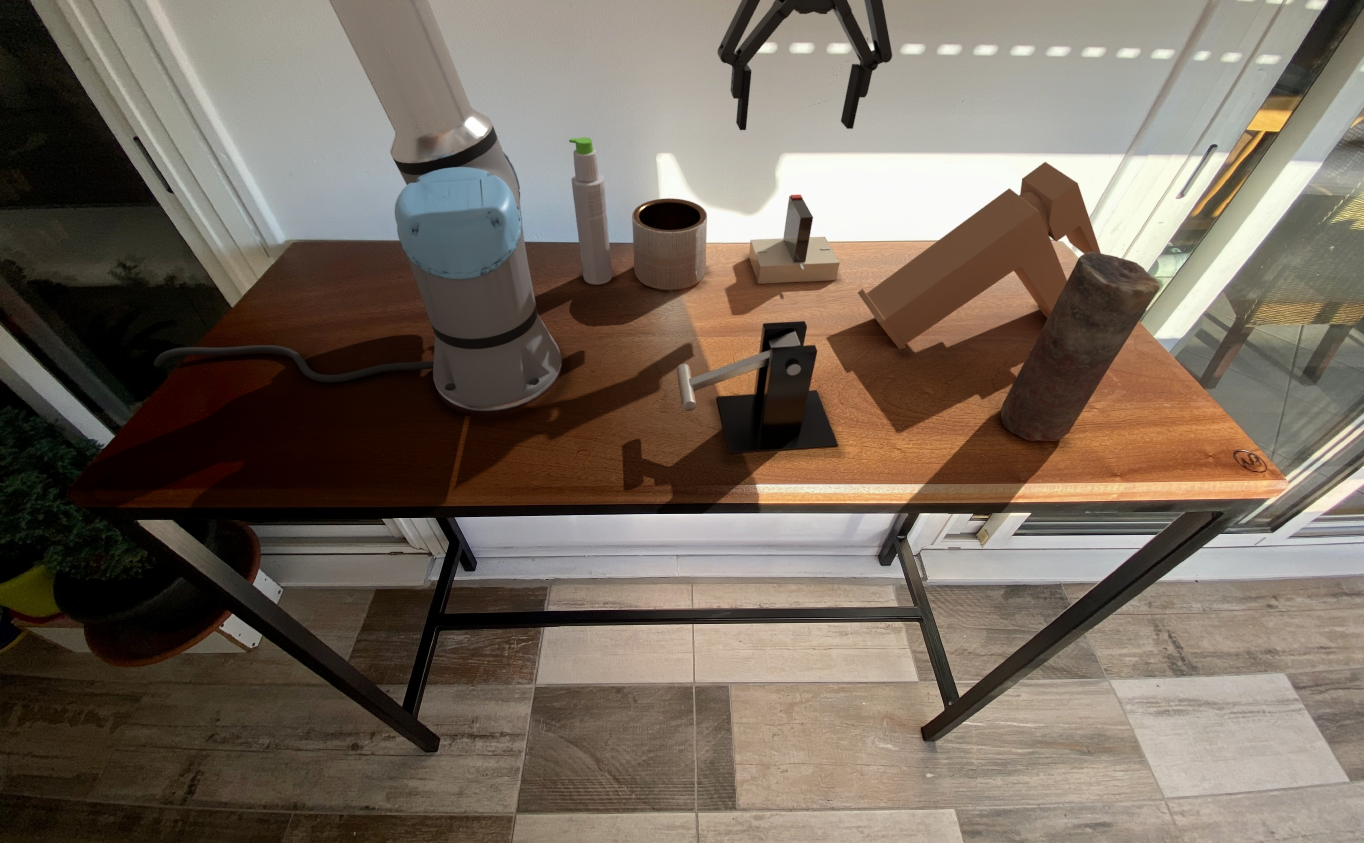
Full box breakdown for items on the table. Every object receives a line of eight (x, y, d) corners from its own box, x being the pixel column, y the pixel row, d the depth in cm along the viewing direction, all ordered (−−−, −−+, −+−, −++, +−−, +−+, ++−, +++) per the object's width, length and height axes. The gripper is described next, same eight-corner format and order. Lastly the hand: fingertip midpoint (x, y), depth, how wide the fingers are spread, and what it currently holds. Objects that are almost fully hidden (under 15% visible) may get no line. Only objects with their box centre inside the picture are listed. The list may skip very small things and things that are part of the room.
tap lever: (686, 416, 61) (678, 401, 60) (681, 378, 65) (673, 363, 64) (810, 373, 59) (805, 356, 57) (795, 337, 63) (790, 320, 61)
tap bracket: (728, 460, 64) (737, 369, 55) (716, 403, 71) (722, 313, 62) (836, 452, 65) (862, 361, 56) (815, 397, 72) (835, 307, 63)
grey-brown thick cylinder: (1002, 392, 73) (1081, 241, 59) (1068, 412, 70) (1166, 259, 56) (993, 432, 68) (1077, 278, 54) (1064, 454, 65) (1171, 299, 51)
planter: (717, 266, 93) (720, 207, 86) (685, 300, 86) (686, 239, 79) (656, 249, 97) (655, 191, 90) (621, 281, 90) (616, 221, 83)
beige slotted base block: (760, 289, 88) (762, 270, 86) (746, 251, 96) (748, 233, 94) (838, 285, 89) (843, 267, 87) (819, 248, 97) (822, 230, 95)
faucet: (947, 410, 88) (1120, 303, 78) (879, 323, 73) (1080, 181, 64) (925, 379, 93) (1085, 275, 83) (857, 292, 78) (1040, 156, 69)
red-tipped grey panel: (805, 262, 88) (813, 215, 83) (793, 262, 88) (800, 216, 83) (794, 239, 93) (801, 193, 88) (783, 239, 93) (789, 194, 88)
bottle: (597, 266, 93) (583, 131, 79) (618, 275, 91) (607, 139, 77) (577, 278, 90) (559, 141, 76) (598, 288, 88) (583, 149, 74)
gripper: (930, -99, 64) (879, 114, 79) (699, -104, 61) (692, 116, 76) (961, -92, 58) (900, 135, 73) (709, -98, 56) (699, 138, 71)
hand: (794, 126), depth 75 cm, fingers open, 13 cm apart
